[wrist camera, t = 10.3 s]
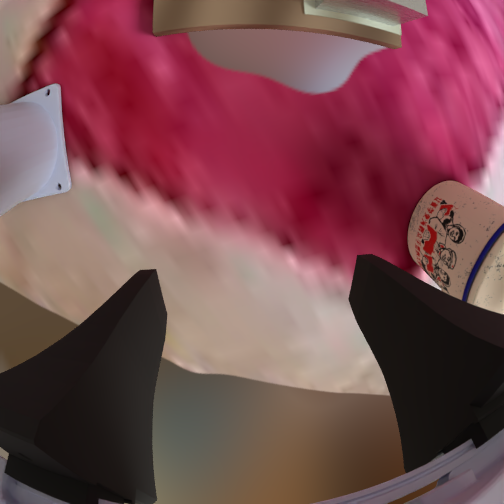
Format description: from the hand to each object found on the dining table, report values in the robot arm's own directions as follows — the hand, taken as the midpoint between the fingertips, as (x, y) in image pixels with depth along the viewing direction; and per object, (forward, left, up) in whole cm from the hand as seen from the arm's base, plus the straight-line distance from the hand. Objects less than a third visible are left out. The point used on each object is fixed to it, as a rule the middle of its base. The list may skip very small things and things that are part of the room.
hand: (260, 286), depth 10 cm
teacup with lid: (+18, -4, -10) cm, 21 cm away
